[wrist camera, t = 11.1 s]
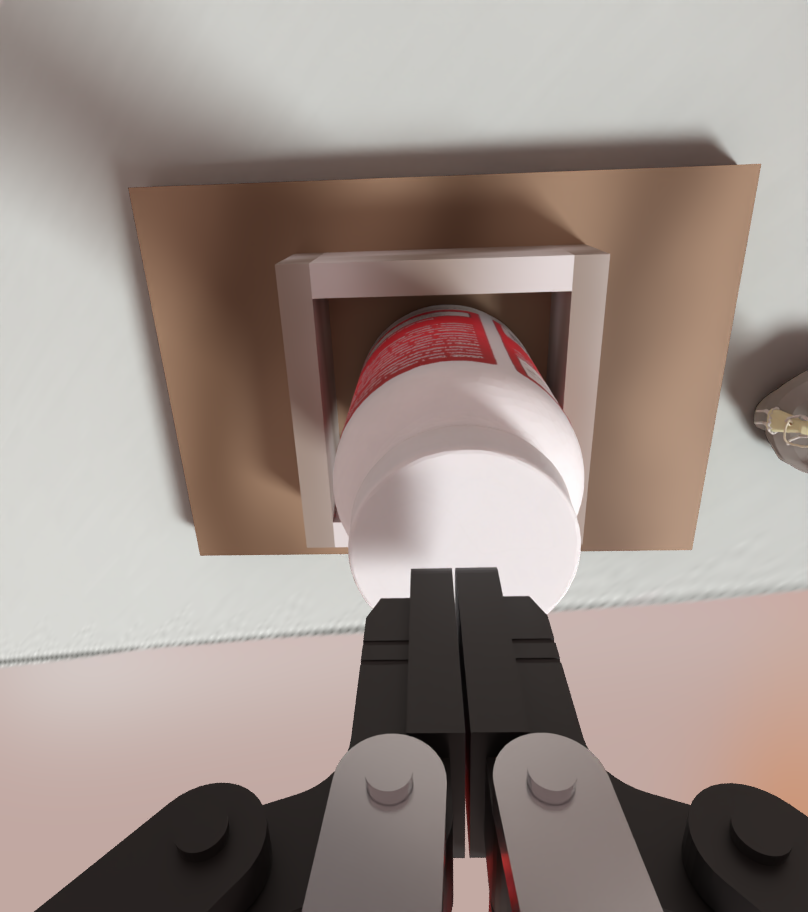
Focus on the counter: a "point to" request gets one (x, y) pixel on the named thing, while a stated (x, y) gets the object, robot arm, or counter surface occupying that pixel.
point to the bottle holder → (444, 283)
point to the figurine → (787, 421)
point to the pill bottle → (458, 461)
